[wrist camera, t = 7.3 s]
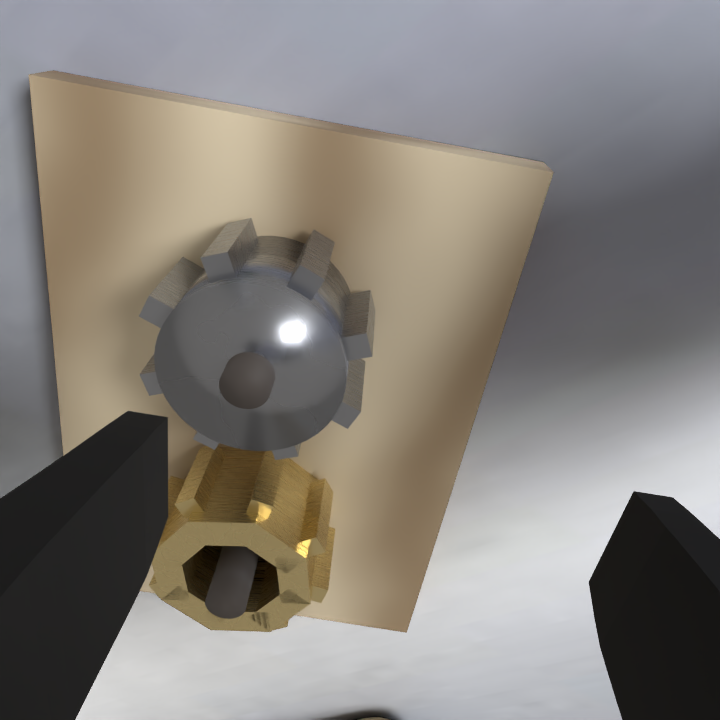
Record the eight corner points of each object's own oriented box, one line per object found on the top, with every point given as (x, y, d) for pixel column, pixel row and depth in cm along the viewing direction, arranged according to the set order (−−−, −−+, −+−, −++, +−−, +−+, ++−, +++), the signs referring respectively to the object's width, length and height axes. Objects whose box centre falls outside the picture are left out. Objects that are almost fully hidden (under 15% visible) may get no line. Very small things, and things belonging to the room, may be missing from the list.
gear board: (543, 161, 16) (599, 219, 12) (406, 606, 25) (408, 736, 21) (53, 70, 16) (-84, 93, 11) (88, 556, 25) (19, 678, 20)
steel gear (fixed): (389, 237, 16) (387, 287, 13) (354, 409, 19) (347, 482, 16) (179, 200, 16) (131, 241, 13) (175, 379, 19) (134, 447, 16)
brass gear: (338, 560, 22) (329, 643, 19) (187, 556, 23) (156, 638, 20) (331, 436, 20) (320, 511, 17) (160, 433, 20) (119, 506, 17)
